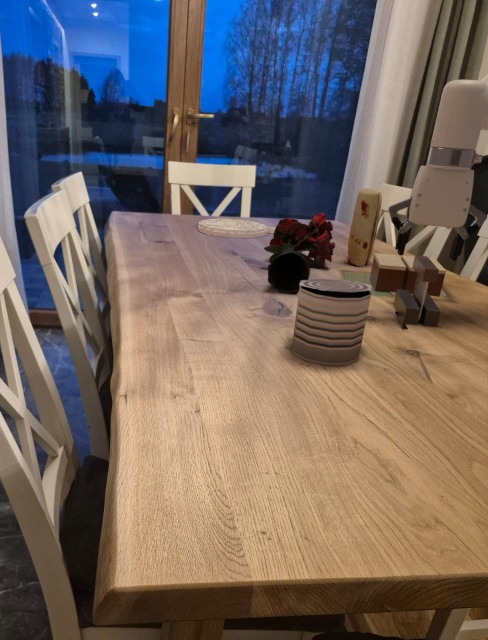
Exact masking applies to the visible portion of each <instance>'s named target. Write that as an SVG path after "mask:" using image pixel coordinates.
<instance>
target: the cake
mask: <svg viewBox="0 0 488 640" xmlns="http://www.w3.org/2000/svg"><path fill="white" fill-rule="evenodd" d="M400 258H401V260H402V261H403V263H404V264H405V266H406V270H405V275H404V280H403V284H402V290H409V291H410V293H411V295H413V291H414V286H415V282H416V278H417V273H416V271H415V270H414V269H413V262H414V258H415V255H414V256H413V255H404V254H403V255H402V256H401V257H400ZM428 258H429V259H430V260H431V261H432V263H433V264H434V265H435V266H436V267H437V268H438V269H439V272H438V276H437V280H436V283H433V282H429V283H428V287H427V292H428V294H429V295H430V297H440V296H441V295H440V293H441V289H442V290H443V285H444V281H445V277H446V272H447V269H445V268H444V267H443V265H441V263H440V262H439V261H438V260H437V259H436V258H435V257H428Z"/></svg>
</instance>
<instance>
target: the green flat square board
mask: <svg viewBox="0 0 488 640" xmlns="http://www.w3.org/2000/svg"><path fill="white" fill-rule="evenodd" d="M343 274H344V278H345V280H347V281H353V282H358V283H363V284H368V285H371V287H372V289H373V290H369V291H370V293H371V296H379V297H389V298H393V297H394V296H393V294H392V292H391V293H390V292H380V291H375V289H374V287H373V284H372V282H371V279H370V274H371V273H359V272H349V271H344V273H343ZM401 290H402V289H401ZM440 296H442V297H447V296H448V295H447V293H446V292H444V290H443V288H442V289H441V293H440Z"/></svg>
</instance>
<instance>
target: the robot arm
mask: <svg viewBox="0 0 488 640" xmlns="http://www.w3.org/2000/svg"><path fill="white" fill-rule="evenodd" d="M481 131H488V73H487V74H486V75H485V76H484V77H482V78H481V80H479V79H478V80H477V79H454V80H451V81H448V82H447V83H446V84H445V85H444V87H443V89H442V91H441V97H440V101H439V105H438V110H437V114H436V118H435V123H434V128H433V132H432V137H431V141H430V145H429V150H428V154H427V159H426V163H425V165H420V167H419V169H418V172H417V174H416V177H415V180H414V183H413V186H412V189H411V193H410V195H409V198H407V199H405V200H402V201H399V202H397V203H394V204H392V205H390V206H388V207H387V210H388V215H389V217H390V221H391V223H392V224H393V226H394V227H395V229H396V230H397V231H398V232H397V237H396V242H395V246H394V250H395V251H397V255H399V256H401V257H402V255H403V256H404V254H405V250H406V247H407V246H406V245H407V241H408V236H409V235H408V231H409V230H410V229H411V228H412V227H413V226H414V225H419V226H430V227H442V228H452V229H453V228H454V230H455V232H456V233H457V234H456V236H455V237H453V240H452V244H451V247H450V252H449V256H448V257H449V259H451V261H452V262H453V261H454V262H457V260H458V257H461V256H462V252H463V250H464V249H463V248H464V245H465V242H466V240H467V239H468V238H469V237H470V236H472V235H473V234H474V233H476V232H478V230H479V228H480V227H481V226H482V225H483V224H484V223H485V222H486V220H487V219H488V215H486V213H484V212H482V211H481V210H479V209H478V208H477V207H475V206H474V205H473V204H471V201H472V196H473V188H474V180H475V170H474V169H472V167H474V164H481V163H482V161H483V157H484V155H483V154H479V153H477V146H478V142H479V139H480V134H481ZM404 209H406V211H405V218H406V219H404V220H403V221H401V220H400V218H399V216H398V212H400V211H402V210H404ZM469 214H470V215H472V216H473V217H474V220H473V221H472V223H471V224H469V225H468V226H466V227H465V226H464V225H465V224H466V221H467V219H468V216H469Z"/></svg>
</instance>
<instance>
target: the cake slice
mask: <svg viewBox="0 0 488 640" xmlns="http://www.w3.org/2000/svg"><path fill="white" fill-rule="evenodd" d="M371 264H372V265H371V269H370V273H369V274H370V279H371V282H372V284H373V287H374V289H375V291H380V292H390V293H391V294H392V293H396V291H397V289H399V290H401V289H402V284H403V280H404V275H405V270H406V266H405V264H404V263H403V261H402V260H401V257H400V255H399V254H392V253H391V254H390V253H379V252H374V254H373V259H372V263H371Z"/></svg>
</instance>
